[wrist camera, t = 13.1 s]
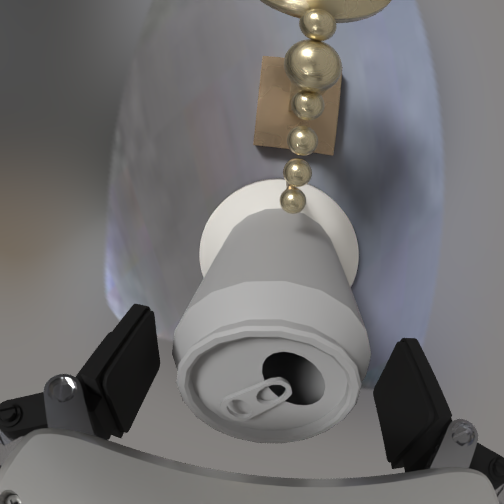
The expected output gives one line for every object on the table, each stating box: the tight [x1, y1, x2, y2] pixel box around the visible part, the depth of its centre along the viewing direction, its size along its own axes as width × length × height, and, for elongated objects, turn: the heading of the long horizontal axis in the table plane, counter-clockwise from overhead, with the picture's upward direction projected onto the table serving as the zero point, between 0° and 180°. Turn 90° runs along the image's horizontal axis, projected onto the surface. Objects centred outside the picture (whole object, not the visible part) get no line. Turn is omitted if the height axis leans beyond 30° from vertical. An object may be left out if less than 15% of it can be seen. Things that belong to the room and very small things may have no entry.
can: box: [172, 208, 371, 443], centre depth 14 cm, size 8×8×12 cm
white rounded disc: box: [200, 178, 359, 287], centre depth 20 cm, size 11×11×1 cm
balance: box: [254, 0, 391, 214], centre depth 10 cm, size 14×6×14 cm, turn 174°
